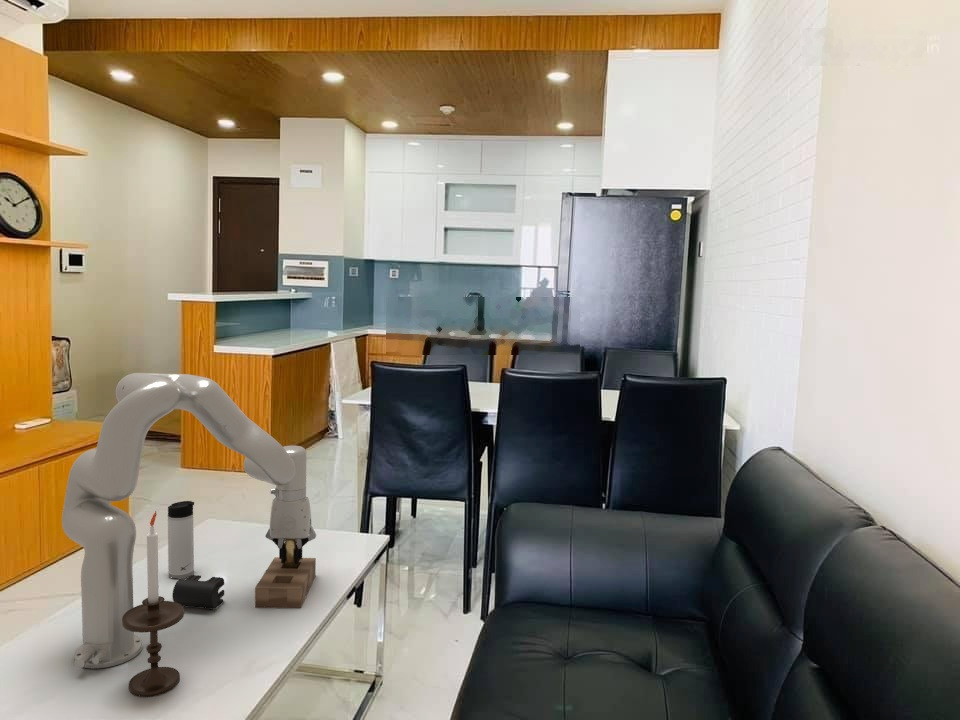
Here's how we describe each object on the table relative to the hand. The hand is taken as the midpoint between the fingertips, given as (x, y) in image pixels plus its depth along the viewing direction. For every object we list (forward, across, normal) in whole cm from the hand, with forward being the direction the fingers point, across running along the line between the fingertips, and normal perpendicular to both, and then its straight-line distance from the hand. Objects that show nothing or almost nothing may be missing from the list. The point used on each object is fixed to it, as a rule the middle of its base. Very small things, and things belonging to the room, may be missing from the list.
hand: (290, 560), depth 182 cm
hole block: (+6, 0, -4) cm, 8 cm away
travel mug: (+6, -30, +5) cm, 31 cm away
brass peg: (+3, 0, 0) cm, 3 cm away
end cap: (+6, -19, -13) cm, 24 cm away
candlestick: (+6, -16, -46) cm, 49 cm away
